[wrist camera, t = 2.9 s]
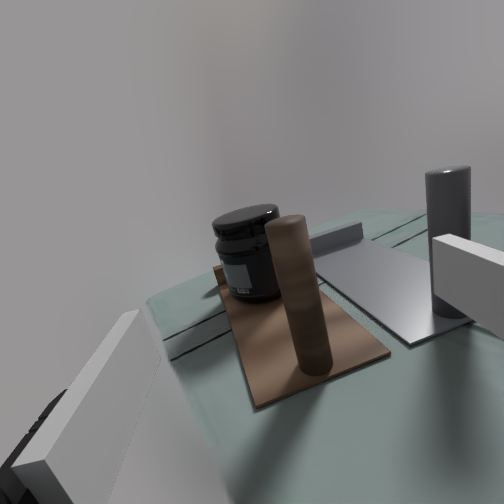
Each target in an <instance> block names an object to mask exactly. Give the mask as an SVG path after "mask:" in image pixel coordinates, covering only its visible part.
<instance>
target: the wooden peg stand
mask: <svg viewBox="0 0 504 504" xmlns="http://www.w3.org/2000/svg"><path fill="white" fill-rule="evenodd" d="M264 227H265V231H266V235H267V239H268V243H269V247H270V251H271V255H272V259H273V263H274V267H275V271H276V275H277V279H278V283H279V287H280V291H281V295H282V297H280V298H278V299H275V300H273V301H270V302H266V303H260V304H246V303H241V302H239V301H237V300H235V299H234V298H233V297H232V296H231V294H230V292H229V287H228V284H227V281H226V277H225V274H224V271H223V268H222V265H219V266H216V267H213V270H214V273H215V276H216V279H217V282H218V285H219V289H220V292H221V295H222V298H223V302H224V305H225V308H226V311H227V315H228V318H229V321H230V324H231V328H232V331H233V334H234V337H235V341H236V344H237V347H238V350H239V354H240V357H241V360H242V363H243V367H244V370H245V373H246V376H247V380H248V383H249V386H250V389H251V393H252V396H253V399H254V402H255V405H256V409H257V408H260V407H262V406H265V405H267V404H270V403H272V402H274V401H277V400H279V399H282V398H284V397H287V396H289V395H292V394H294V393H297V392H299V391H301V390H304V389H306V388H309V387H311V386H314V385H316V384H319V383H321V382H324V381H326V380H328V379H331V378H333V377H336V376H338V375H341V374H343V373H346V372H348V371H351V370H353V369H355V368H358V367H360V366H363V365H365V364H368V363H370V362H373V361H375V360H378V359H380V358H382V357H385V356H387V355H390V354H391V351H390V350H389V349H388V348H387V347H385V346H384V345H383V344H382V343H381V342H380V341H379V340H377V339H376V338H375V337H374V336H373V335H372V334H370V333H369V332H368V331H367V330H366V329H365V328H364V327H362V326H361V325H360V324H359V323H358V322H357V321H355V320H354V319H353V318H352V317H351V316H350V315H349V314H347V313H346V312H345V311H344V310H343V309H342V308H341V307H339V306H338V305H337V304H336V303H335V302H334V301H332V300H331V299H330V298H329V297H328V296H327V295H326V294H324V293H323V292H322V291H321V290H320V289H319V286H318V281H317V276H316V271H315V266H314V261H313V255H312V250H311V245H310V240H309V235H308V230H307V225H306V220H305V216H303V215H289V216H285V217H280V218H277V219H274V220H271V221H269V222H268V223H266V224H265V226H264Z"/></svg>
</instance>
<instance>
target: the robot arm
mask: <svg viewBox="0 0 504 504" xmlns="http://www.w3.org/2000/svg"><path fill="white" fill-rule="evenodd" d="M432 250H433V279H434V294H435V295H437V296H438V297H440V298H441V299H443V300H444V301H446V302H447V303H449V304H450V305H452V306H453V307H455V308H456V309H458V310H459V311H461V312H462V313H464V314H465V315H467V316H468V317H470V318H471V319H473V320H474V321H476V322H477V323H479V324H480V325H482V326H483V327H485V328H486V329H488V330H489V331H491V332H492V333H494V334H495V335H497V336H498V337H500V338H501V339H503V340H504V252H502V251H499V250H496V249H493V248H490V247H487V246H484V245H481V244H478V243H475V242H472V241H469V240H466V239H463V238H461V237H458V236H455V235H452V234H446V235H442V236H438V237H434V238H432ZM160 360H161V358H160V355H159V353H158V350H157V348H156V345H155V343H154V341H153V338H152V336H151V333H150V331H149V328H148V326H147V324H146V322H145V319H144V316H143V314H142V311H141V309H137V310H133V311H129V312H125V313H123V314H122V316H121V317H120V319H119V320H118V322H117V323H116V324H115V325H114V327H113V328H112V329H111V331H110V332H109V334H108V335H107V336H106V338H105V339H104V340H103V342H102V343H101V345H100V346H99V347H98V349H97V350H96V351H95V353H94V354H93V355H92V357H91V358H90V360H89V361H88V362H87V364H86V365H85V366H84V368H83V369H82V370H81V372H80V373H79V375H78V376H77V378H76V379H75V380H74V381H73V383H72V384H71V386H70V387H69V388H68V389H66V390H64V391H63V392H62V393H60V394H59V395H58V396H57V397H56V398H55V399H54V400H53V401H52V402H51V403H49V405H48V406H47V407H46V409H45V410H44V412H42V414H41V415H40V416H39V418H38V421H36V422H35V423H34V425H33V426H32V427H31V428H30V430H29V433H28V434H26V435H25V436H24V437H23V439H22V440H21V441H20V443H19V444H18V445H17V447H16V448H15V449H14V451H13V452H12V453H11V455H10V456H9V457H8V458H7V460H6V461H5V462H4V464H3V465H2V466H1V468H0V504H107V502H108V500H109V497H110V495H111V492H112V489H113V486H114V484H115V481H116V479H117V476H118V473H119V470H120V468H121V465H122V462H123V460H124V457H125V454H126V451H127V449H128V446H129V444H130V441H131V438H132V436H133V433H134V430H135V427H136V425H137V422H138V419H139V417H140V414H141V411H142V409H143V406H144V403H145V400H146V398H147V395H148V393H149V390H150V387H151V384H152V381H153V379H154V376H155V374H156V371H157V368H158V366H159V363H160Z"/></svg>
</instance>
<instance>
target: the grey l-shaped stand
mask: <svg viewBox="0 0 504 504" xmlns="http://www.w3.org/2000/svg"><path fill="white" fill-rule="evenodd" d="M425 181H426V200H427V201H426V202H427V222H428V242H429V262H428V261H426V260H423V259H420V258H418V257H415V256H412V255H409V254H407V253H404V252H401V251H399V250H396V249H393V248H390V247H388V246H385V245H382V244H380V243H377V242H374V241H371V240H369V239H366V238H364V237H363V229H362V222H359V221H354V222H351V223H348V224H345V225H342V226H339V227H336V228H333V229H330V230H327V231H324V232H321V233H317V234H314V235H311V236H309V240H310V245H311V250H312V255H313V261H314V266H315V271H316V274H317V275H319V276H320V277H321V278H323V279H324V280H325V281H326V282H328V283H329V284H330V285H332V286H333V287H334V288H335V289H337V290H338V291H339V292H341V293H342V294H343V295H345V296H346V297H347V298H348V299H350V300H351V301H352V302H354V303H355V304H356V305H358V306H359V307H360V308H361V309H363V310H364V311H365V312H367V313H368V314H369V315H371V316H372V317H373V318H374V319H376V320H377V321H378V322H380V323H381V324H382V325H383V326H385V327H386V328H387V329H389V330H390V331H391V332H393V333H394V334H395V335H396V336H398V337H399V338H400V339H402V340H403V341H404V342H406V343H407V344H408V345H409V346H412V345H414V344H417V343H419V342H422V341H424V340H426V339H429V338H431V337H434V336H436V335H439V334H441V333H444V332H446V331H448V330H451V329H453V328H456V327H458V326H461V325H463V324H466V323H468V322H471V321H473V319H471V318H470V317H468V316H467V315H465V314H464V313H462V312H461V311H459V310H458V309H456V308H455V307H453V306H452V305H450V304H449V303H447V302H446V301H444V300H443V299H441V298H440V297H438V296H437V295H435V294H434V279H433V250H432V238H434V237H438V236H442V235H446V234H452V235H455V236H458V237H461V238H463V239H466V240H469V241H471V167H470V166H452V167H445V168H440V169H436V170H432V171H429V172H427V173H425Z"/></svg>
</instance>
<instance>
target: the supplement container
mask: <svg viewBox="0 0 504 504" xmlns="http://www.w3.org/2000/svg"><path fill="white" fill-rule="evenodd" d="M277 218H280V214H279V209H278V206H277V205H274V204H261V205H255V206H250V207H246V208H242V209H238V210H235V211H232V212H229V213H227V214H224V215H222V216H220V217H218V218H217V219H215V220H214V221H213V222H212V227H213V230H214V233H215V236H216V237H218V240H217V242H216V245H215V248H216V252H217V253H218V255H219V258H220V261H221V265H222V268H223V271H224V274H225V277H226V281H227V284H228V287H229V292H230V294H231V296H232V297H233V298H234V299H235V300H237V301H239V302H241V303H246V304H260V303H266V302H270V301H273V300H275V299H278V298H280V297H282V295H281V291H280V287H279V283H278V279H277V275H276V271H275V267H274V263H273V259H272V255H271V251H270V247H269V243H268V239H267V235H266V231H265V227H264V226H265V224H266V223H268V222H269V221H271V220H274V219H277Z"/></svg>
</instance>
